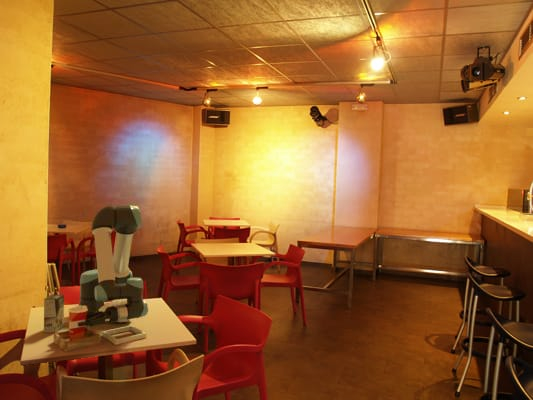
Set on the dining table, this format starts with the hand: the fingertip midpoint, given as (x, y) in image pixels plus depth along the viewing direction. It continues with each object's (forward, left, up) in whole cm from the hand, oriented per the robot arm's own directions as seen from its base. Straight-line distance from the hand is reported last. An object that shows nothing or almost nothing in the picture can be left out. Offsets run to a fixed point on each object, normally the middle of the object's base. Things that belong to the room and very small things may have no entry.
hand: (66, 322), depth 200 cm
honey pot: (-14, +37, -3) cm, 39 cm away
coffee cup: (0, +5, -9) cm, 10 cm away
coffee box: (-25, +3, -10) cm, 27 cm away
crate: (0, +5, -10) cm, 11 cm away
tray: (+5, +25, -10) cm, 27 cm away
